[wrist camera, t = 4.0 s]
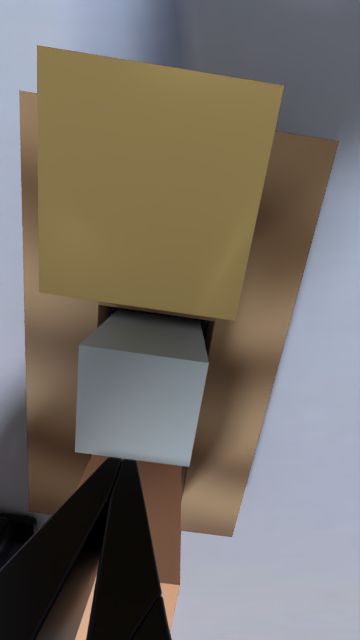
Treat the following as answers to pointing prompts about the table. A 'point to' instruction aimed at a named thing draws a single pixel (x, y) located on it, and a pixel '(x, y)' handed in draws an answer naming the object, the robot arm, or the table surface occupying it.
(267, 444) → the table surface
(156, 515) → the orange brown block
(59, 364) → the wooden slotted tray
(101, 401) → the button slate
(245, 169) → the olive yellow block
